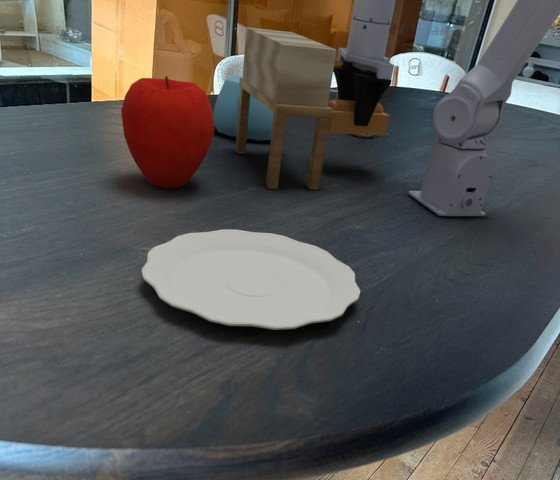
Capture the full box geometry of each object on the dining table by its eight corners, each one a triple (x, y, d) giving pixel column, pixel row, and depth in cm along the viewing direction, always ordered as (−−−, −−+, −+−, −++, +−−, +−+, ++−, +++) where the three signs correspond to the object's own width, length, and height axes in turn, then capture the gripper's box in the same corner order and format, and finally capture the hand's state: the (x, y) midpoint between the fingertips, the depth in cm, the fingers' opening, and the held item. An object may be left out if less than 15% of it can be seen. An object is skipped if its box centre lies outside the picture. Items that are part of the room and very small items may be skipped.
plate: (342, 254, 68) (344, 240, 67) (370, 352, 51) (375, 336, 50) (159, 235, 66) (159, 220, 65) (125, 331, 49) (124, 313, 48)
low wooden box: (385, 135, 93) (392, 106, 91) (329, 133, 90) (334, 102, 87) (371, 127, 97) (377, 99, 95) (316, 124, 94) (320, 95, 91)
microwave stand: (322, 190, 87) (344, 51, 76) (268, 189, 84) (284, 45, 74) (281, 152, 101) (295, 32, 91) (234, 150, 99) (243, 26, 88)
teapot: (295, 69, 111) (281, 82, 96) (287, 128, 117) (273, 149, 102) (230, 58, 112) (206, 70, 97) (226, 118, 118) (203, 138, 103)
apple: (199, 170, 87) (203, 70, 80) (221, 197, 78) (229, 88, 71) (117, 169, 83) (114, 64, 75) (131, 198, 74) (129, 82, 67)
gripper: (420, 31, 81) (397, 134, 89) (372, 18, 92) (355, 111, 99) (376, 25, 78) (356, 132, 86) (331, 13, 89) (317, 109, 97)
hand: (353, 121), depth 93 cm, fingers closed on low wooden box, 5 cm apart
